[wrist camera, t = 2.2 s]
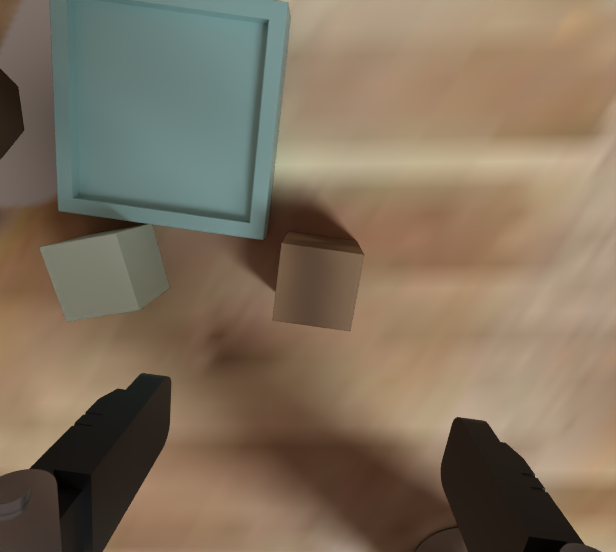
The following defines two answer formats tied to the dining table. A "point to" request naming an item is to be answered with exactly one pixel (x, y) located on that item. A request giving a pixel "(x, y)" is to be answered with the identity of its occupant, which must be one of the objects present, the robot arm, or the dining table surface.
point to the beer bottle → (9, 113)
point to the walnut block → (317, 281)
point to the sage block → (106, 272)
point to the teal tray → (169, 110)
